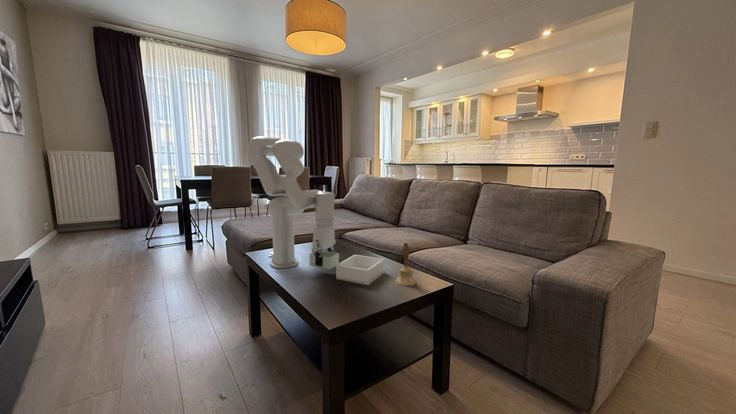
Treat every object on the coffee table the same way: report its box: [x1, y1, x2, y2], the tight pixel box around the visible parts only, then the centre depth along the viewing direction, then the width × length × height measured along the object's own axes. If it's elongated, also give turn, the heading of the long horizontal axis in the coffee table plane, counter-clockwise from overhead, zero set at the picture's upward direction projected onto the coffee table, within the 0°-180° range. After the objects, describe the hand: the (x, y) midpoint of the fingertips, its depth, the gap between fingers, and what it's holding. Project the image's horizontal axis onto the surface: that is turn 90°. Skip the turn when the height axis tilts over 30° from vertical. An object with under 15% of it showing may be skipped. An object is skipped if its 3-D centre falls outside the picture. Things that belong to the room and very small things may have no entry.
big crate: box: [335, 254, 386, 286], centre depth 126 cm, size 15×16×6 cm
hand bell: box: [394, 242, 417, 287], centre depth 119 cm, size 8×8×16 cm
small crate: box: [309, 249, 340, 270], centre depth 128 cm, size 10×7×5 cm
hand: (324, 262), depth 128 cm, fingers closed on small crate, 7 cm apart
